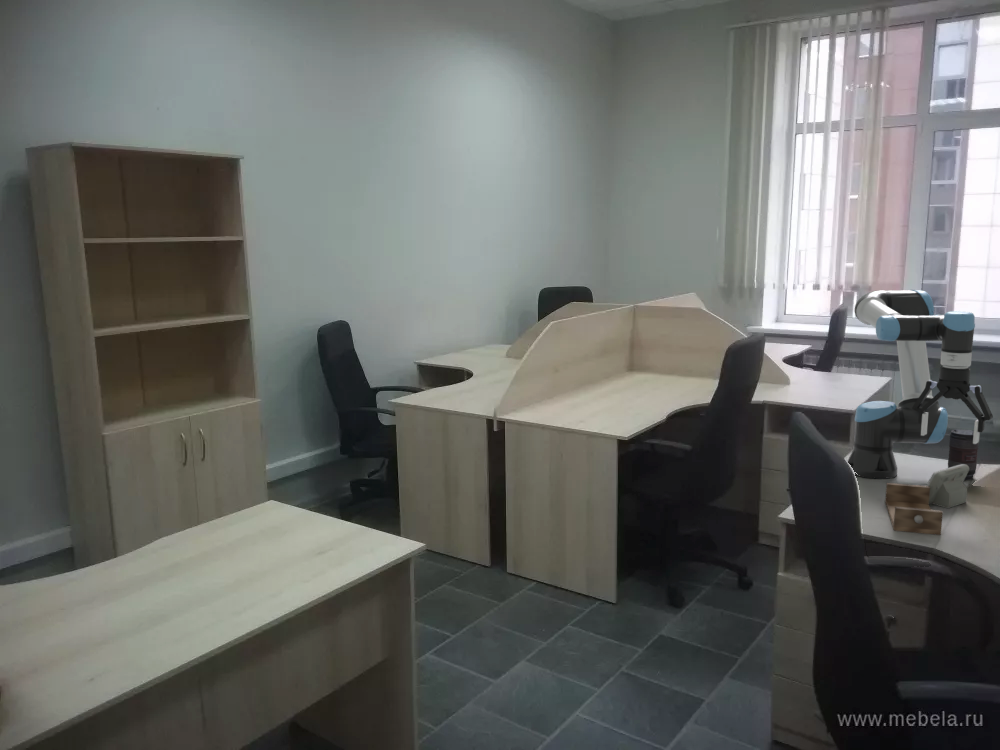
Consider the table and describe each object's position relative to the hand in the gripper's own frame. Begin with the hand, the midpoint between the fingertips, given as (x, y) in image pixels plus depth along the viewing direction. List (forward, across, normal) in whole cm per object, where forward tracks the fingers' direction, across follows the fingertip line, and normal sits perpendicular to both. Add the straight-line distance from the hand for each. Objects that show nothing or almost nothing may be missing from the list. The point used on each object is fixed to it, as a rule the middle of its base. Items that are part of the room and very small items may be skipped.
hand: (949, 438), depth 221 cm
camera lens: (+19, -4, +28) cm, 34 cm away
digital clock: (+19, 0, 0) cm, 19 cm away
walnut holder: (+19, -2, -20) cm, 28 cm away
